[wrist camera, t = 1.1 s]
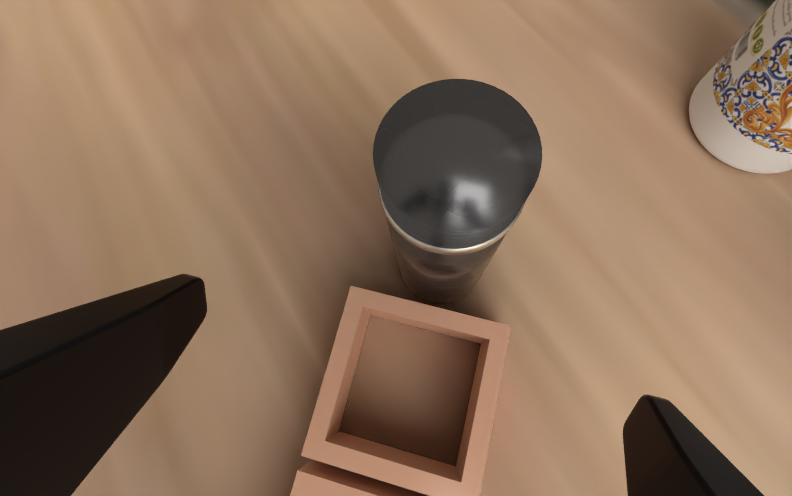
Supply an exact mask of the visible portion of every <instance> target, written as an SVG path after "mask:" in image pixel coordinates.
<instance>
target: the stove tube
mask: <svg viewBox="0 0 792 496" xmlns="http://www.w3.org/2000/svg"><path fill="white" fill-rule="evenodd" d="M373 160H374V167H375V172H376V176H377V180H378V187H379V194H380V199H381V203H382V206H383V209H384V212H385V214H386V216H387V220H388V224H389V228H390V232H391V237H392V241H393V245H394V249H395V253H396V257H397V261H398V265H399V269H400V273H401V276H402V279H403V281H404V282H405V284H406V286H407V287H408V288H409V289H410V290H411V291H412V292H413V293H414V294H415V295H417V296H418V297H420V298H422V299H424V300H426V301H429V302H433V303H449V302H453V301H456V300H458V299H460V298H462V297H464V296H465V295H467V294H468V293H469V292H470V291H471V290H472V289H473V288H474V287H475V285H476V283H477V282H478V280H479V278H480V277H481V275H482V273H483V272H484V270H485V268H486V267H487V265H488V263H489V262H490V260H491V258H492V256H493V255H494V253H495V251H496V250H497V248H498V246H499V245H500V243H501V241H502V240H503V238H504V236H505V235H506V233H507V232H508V231H509V229H510V228H511V227H512V226H513V224H514V223H515V221H516V219H517V218H518V216H519V214H520V213H521V211H522V208H523V206H524V204H525V201H526V199H527V198H528V196H529V194H530V193H531V191H532V189H533V188H534V186H535V183H536V181H537V179H538V176H539V172H540V169H541V162H542V146H541V141H540V136H539V133H538V130H537V128H536V126H535V124H534V122H533V120H532V118H531V117H530V115H529V114H528V112H527V111H526V110H525V109H524V108H523V106H522V105H521V104H520V103H519V102H518V101H516V100H515V99H514V98H513V97H512V96H510V95H509V94H507V93H505V92H504V91H502V90H500V89H498V88H496V87H494V86H492V85H489V84H486V83H483V82H479V81H474V80H466V79H448V80H441V81H436V82H432V83H429V84H426V85H423V86H421V87H418V88H416V89H414V90H412V91H411V92H409V93H408V94H406V95H404V96H403V97H402V98H401V99H400V100H398V101H397V102H396V103H395V104H394V105H393V106H392V107H391V108H390V110H389V111H388V112H387V114H386V115H385V116H384V118H383V120H382V122H381V123H380V125H379V128H378V130H377V133H376V137H375V141H374V148H373Z"/></svg>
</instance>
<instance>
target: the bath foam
mask: <svg viewBox="0 0 792 496" xmlns="http://www.w3.org/2000/svg"><path fill="white" fill-rule="evenodd" d="M689 118H690V123H691V126H692V129H693V131H694V133H695V135H696V137H697V138H698V140H699V141H700V143H701V144H702V145H703V146H704V147H705V149H706V150H708V151H709V152H710V153H711V154H712V155H713V156H715V157H716V158H717V159H719V160H720V161H722V162H724V163H726V164H728V165H730V166H732V167H734V168H737V169H740V170H744V171H748V172H753V173H763V174H771V173H780V172H785V171H789V170H792V0H775V2H774V3H773V4H772V5H771V6H770V7H769V8H768V9H767V10H766V11H765V12H764V13H763V14H762V15H761V16H760V17H759V18H758V19H757V21H756V22H755V23H754V24H753V25H752V26H751V27H750V28H749V29H748V30H747V31H746V32H745V33H744V34H743V35H742V36H741V37H740V38H739V40H738V41H737V42H736V43H735V44H734V45H733V46H732V47H731V48H730V49H729V50H728V51H727V52H726V53H725V54H724V55H723V57H722V58H721V59H720V60H719V61H718V62H717V63H716V64H715V65H714V66H713V67H712V69H711V70H710V71H709V72H708V73H707V74H706V75H705V76H704V77H703V78H702V79H701V81H700V82H699V83H698V84H697V86H696V87H695V89H694V91H693V93H692V96H691V99H690V103H689Z"/></svg>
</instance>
